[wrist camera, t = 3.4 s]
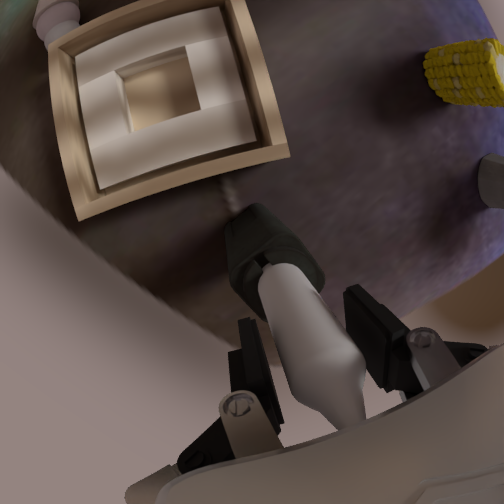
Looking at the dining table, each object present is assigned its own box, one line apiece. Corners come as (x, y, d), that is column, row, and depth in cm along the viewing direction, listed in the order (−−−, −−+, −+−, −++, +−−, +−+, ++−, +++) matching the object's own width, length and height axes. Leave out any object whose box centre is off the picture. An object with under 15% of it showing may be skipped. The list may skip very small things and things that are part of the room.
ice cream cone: (61, -14, 15) (83, 54, 22) (22, -1, 11) (40, 72, 19) (74, -42, 11) (98, 27, 18) (29, -30, 7) (46, 44, 14)
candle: (249, 264, 30) (327, 498, 7) (219, 229, 29) (236, 472, 5) (287, 235, 30) (448, 423, 6) (258, 198, 28) (428, 356, 4)
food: (450, 64, 26) (449, 115, 29) (408, 30, 22) (408, 87, 25) (524, 67, 14) (529, 128, 17) (496, 19, 10) (507, 90, 13)
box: (72, 60, 20) (47, 44, 15) (232, 6, 21) (236, -22, 15) (103, 210, 26) (78, 221, 21) (275, 158, 27) (290, 156, 21)
